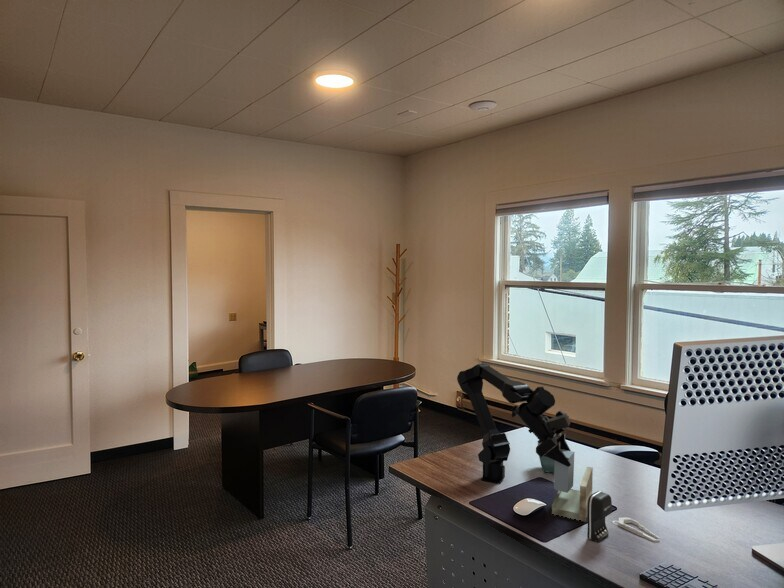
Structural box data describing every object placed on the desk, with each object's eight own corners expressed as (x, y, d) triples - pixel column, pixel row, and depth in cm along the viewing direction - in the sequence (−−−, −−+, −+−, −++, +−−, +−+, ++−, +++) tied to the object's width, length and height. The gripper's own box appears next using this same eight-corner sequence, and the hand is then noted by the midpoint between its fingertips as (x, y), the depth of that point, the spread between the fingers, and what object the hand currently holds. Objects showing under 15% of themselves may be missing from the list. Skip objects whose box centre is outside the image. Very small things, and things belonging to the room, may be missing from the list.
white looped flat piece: (666, 541, 132) (667, 535, 132) (656, 547, 130) (656, 540, 129) (620, 518, 143) (621, 513, 143) (610, 523, 140) (610, 517, 140)
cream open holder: (551, 514, 145) (552, 480, 144) (561, 493, 159) (561, 462, 159) (585, 521, 140) (586, 486, 140) (592, 499, 155) (592, 467, 154)
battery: (600, 544, 128) (601, 501, 128) (586, 539, 131) (587, 496, 131) (613, 535, 133) (613, 493, 133) (599, 530, 136) (599, 488, 136)
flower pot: (565, 476, 173) (566, 450, 172) (539, 474, 174) (539, 448, 174) (562, 466, 181) (562, 442, 181) (537, 464, 183) (537, 440, 183)
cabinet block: (550, 488, 150) (551, 454, 150) (556, 481, 155) (557, 448, 155) (567, 492, 147) (568, 457, 147) (573, 485, 152) (574, 451, 152)
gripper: (547, 411, 143) (588, 456, 138) (559, 397, 160) (595, 437, 155) (519, 434, 147) (558, 479, 142) (533, 418, 164) (568, 458, 159)
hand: (571, 462), depth 150 cm, fingers closed on cabinet block, 6 cm apart
